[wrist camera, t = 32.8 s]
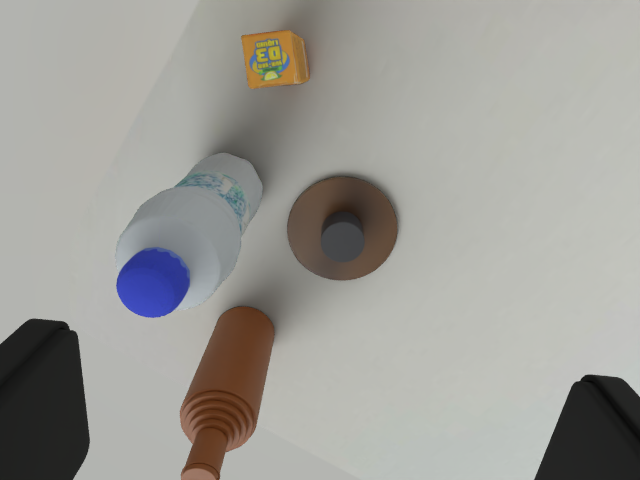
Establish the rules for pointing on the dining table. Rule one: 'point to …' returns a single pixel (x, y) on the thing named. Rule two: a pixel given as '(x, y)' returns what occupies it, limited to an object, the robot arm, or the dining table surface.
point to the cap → (342, 237)
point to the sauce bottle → (226, 390)
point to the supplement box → (275, 59)
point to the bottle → (187, 237)
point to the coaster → (342, 198)
